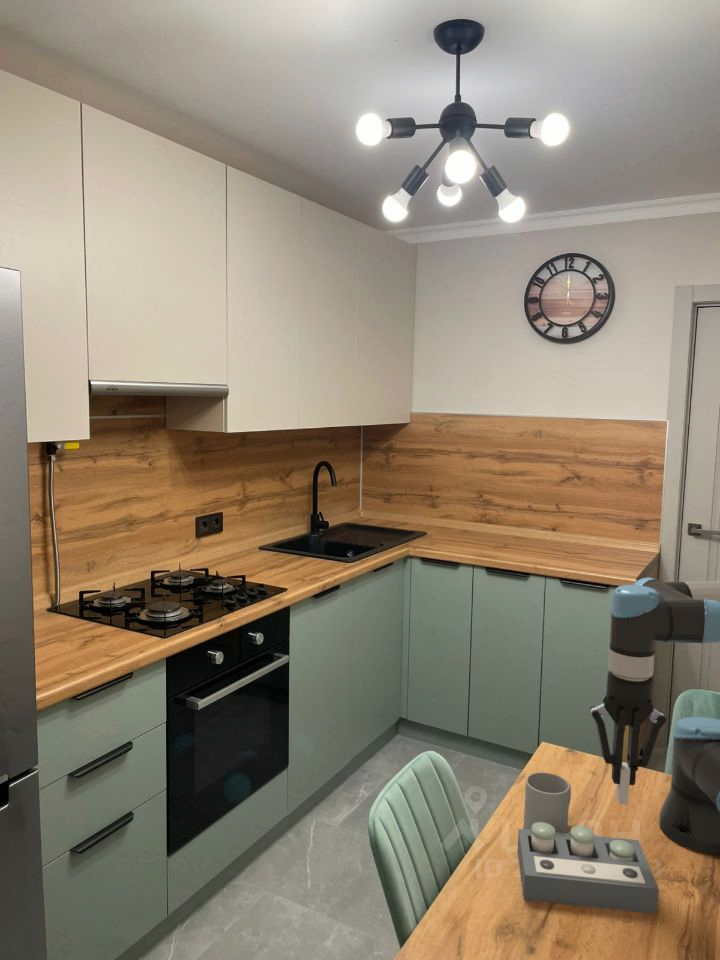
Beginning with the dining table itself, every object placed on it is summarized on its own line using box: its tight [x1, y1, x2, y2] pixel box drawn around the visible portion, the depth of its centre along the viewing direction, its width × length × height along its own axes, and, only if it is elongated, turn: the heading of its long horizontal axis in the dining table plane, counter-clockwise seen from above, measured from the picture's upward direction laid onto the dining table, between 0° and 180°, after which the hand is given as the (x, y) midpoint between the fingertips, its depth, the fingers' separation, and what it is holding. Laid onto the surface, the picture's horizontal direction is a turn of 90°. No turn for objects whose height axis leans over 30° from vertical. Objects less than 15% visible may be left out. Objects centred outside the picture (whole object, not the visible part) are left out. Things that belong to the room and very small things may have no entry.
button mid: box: [570, 825, 596, 858], centre depth 132 cm, size 4×4×4 cm
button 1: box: [531, 822, 555, 854], centre depth 133 cm, size 4×4×4 cm
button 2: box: [609, 840, 634, 862], centre depth 132 cm, size 4×4×4 cm
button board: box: [517, 828, 660, 915], centre depth 130 cm, size 22×14×4 cm, turn 82°
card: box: [534, 856, 645, 885], centre depth 126 cm, size 18×4×1 cm, turn 82°
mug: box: [522, 772, 572, 833], centre depth 145 cm, size 12×8×11 cm
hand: (621, 800), depth 131 cm, fingers closed
